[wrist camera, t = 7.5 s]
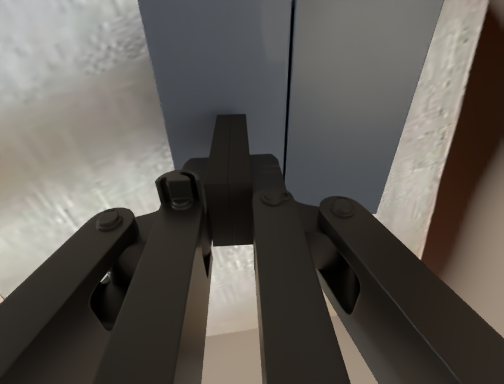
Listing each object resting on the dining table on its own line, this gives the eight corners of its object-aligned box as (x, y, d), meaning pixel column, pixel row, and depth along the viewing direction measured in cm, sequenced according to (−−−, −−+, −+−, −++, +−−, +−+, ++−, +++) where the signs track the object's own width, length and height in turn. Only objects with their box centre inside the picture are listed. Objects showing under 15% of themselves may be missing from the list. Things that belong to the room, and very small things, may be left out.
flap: (187, 219, 19) (186, 223, 19) (139, -1, 12) (136, -1, 11) (280, 213, 19) (280, 217, 19) (290, -4, 12) (292, -5, 12)
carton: (202, 154, 28) (185, 223, 19) (181, 6, 21) (134, -2, 11) (331, 149, 28) (377, 214, 19) (355, 1, 21) (449, -11, 12)
